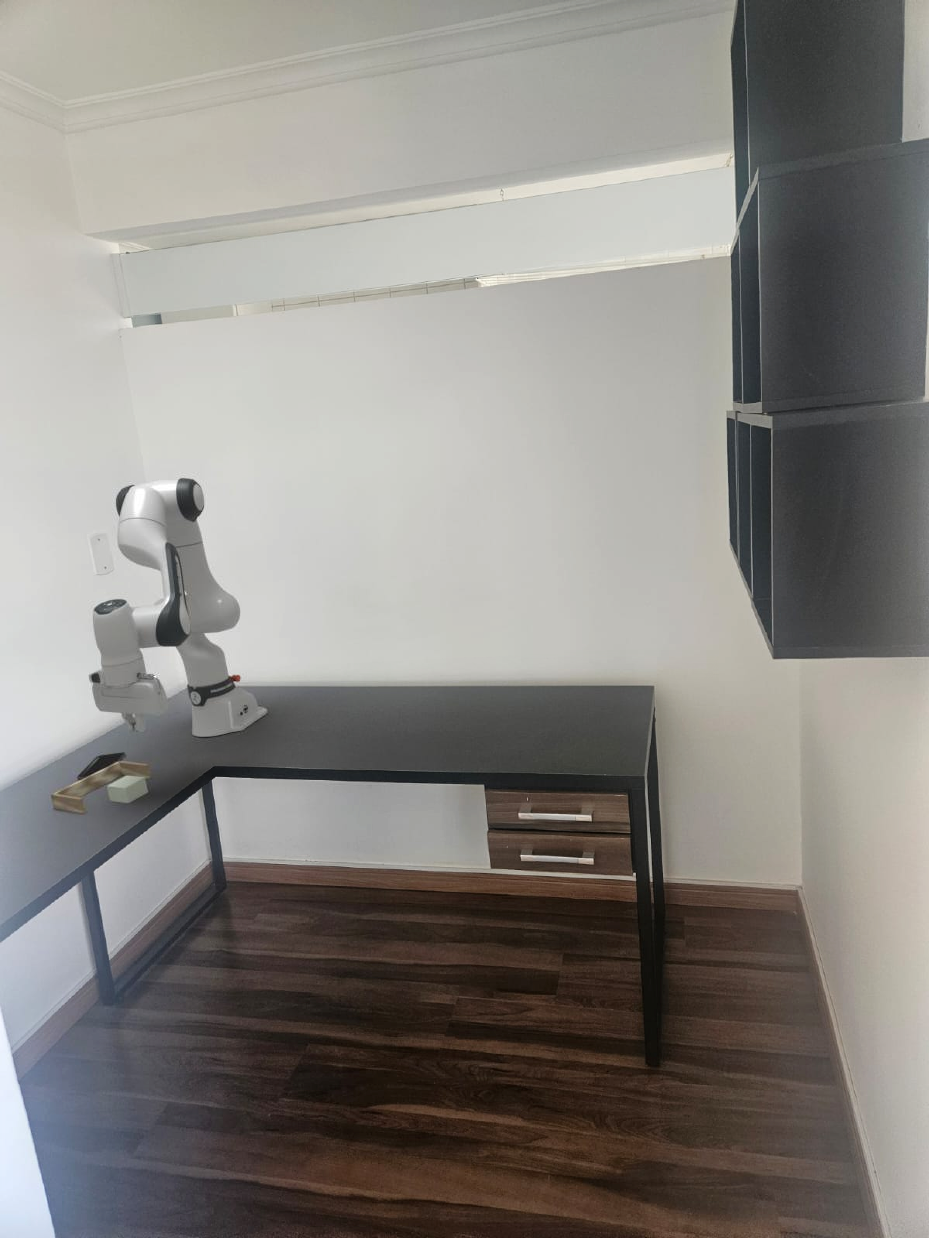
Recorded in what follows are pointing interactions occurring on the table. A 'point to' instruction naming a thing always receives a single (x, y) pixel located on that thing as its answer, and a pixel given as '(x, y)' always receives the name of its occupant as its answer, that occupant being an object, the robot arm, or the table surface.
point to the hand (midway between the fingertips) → (137, 730)
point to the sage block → (127, 789)
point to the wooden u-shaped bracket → (95, 784)
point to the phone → (101, 764)
